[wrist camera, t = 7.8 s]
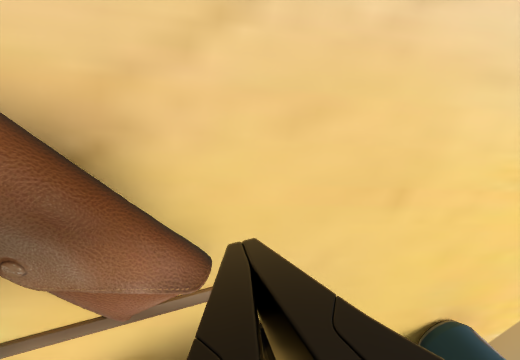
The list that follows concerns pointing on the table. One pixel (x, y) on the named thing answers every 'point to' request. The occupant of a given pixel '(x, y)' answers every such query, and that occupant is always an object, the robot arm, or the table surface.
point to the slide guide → (98, 325)
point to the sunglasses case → (85, 235)
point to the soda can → (457, 343)
